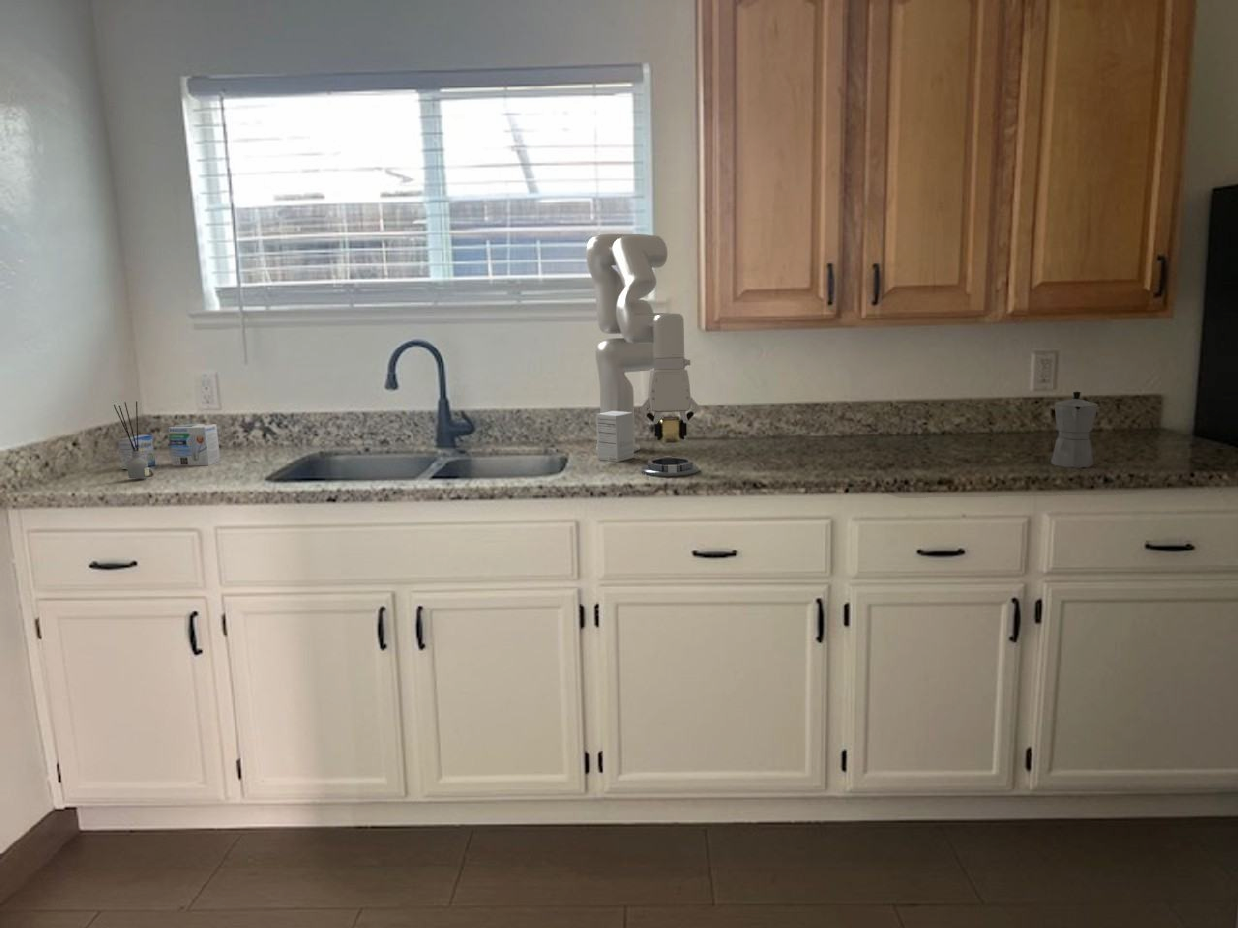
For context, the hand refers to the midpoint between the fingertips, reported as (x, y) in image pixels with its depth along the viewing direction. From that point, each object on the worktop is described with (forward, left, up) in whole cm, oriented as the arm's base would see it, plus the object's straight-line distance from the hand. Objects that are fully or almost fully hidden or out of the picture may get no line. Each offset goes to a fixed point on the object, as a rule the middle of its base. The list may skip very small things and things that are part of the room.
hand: (670, 438), depth 217 cm
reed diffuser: (-10, -136, -9) cm, 137 cm away
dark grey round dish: (0, 0, -8) cm, 8 cm away
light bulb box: (-31, -130, -9) cm, 134 cm away
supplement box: (-20, -13, -9) cm, 26 cm away
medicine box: (-27, -144, -9) cm, 147 cm away
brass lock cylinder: (0, 0, -1) cm, 1 cm away
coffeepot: (+4, +99, -9) cm, 99 cm away
